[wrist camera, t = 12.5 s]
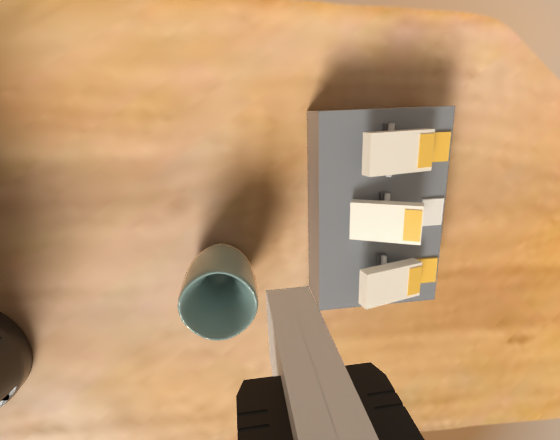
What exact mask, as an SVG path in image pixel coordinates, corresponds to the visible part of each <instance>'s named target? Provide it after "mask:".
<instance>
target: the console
mask: <svg viewBox="0 0 560 440" xmlns="http://www.w3.org/2000/svg"><path fill="white" fill-rule="evenodd" d="M454 111H455V106H417V107H392V108H367V109H341V110H316V111H307V155H308V233H309V287H310V289H311V292H312V294H313V296H314V299H315V301H316V304H317V306H318V308H319V311H320V310H330V309H340V308H351V307H361V305H360V304H359V303H358V302H359V273H360V269H364V268H369V267H373V266H378V265H382V264H387V263H392V262H396V261H401V260H405V259H410V258H415V259H417V260H419V261H421V262H422V273H421V284H420V294H419V296H415V297H411V298H408V299H404V300H400V301H396V302H393V303H402V302H412V301H422V300H433V299H435V290H436V280H437V271H438V262H439V252H440V243H441V233H442V224H443V215H444V205H445V196H446V187H447V177H448V168H449V158H450V149H451V140H452V130H453V121H454ZM422 128H428V129H435V137H434V148H433V158H432V169H431V171H423V172H413V173H404V174H395V175H385V176H376V177H367V176H364V175H362V147H363V132H376V131H391V130H407V129H422ZM352 199H360V200H380V201H400V202H420V203H424V212H423V224H422V235H421V245H410V244H398V243H387V242H376V241H364V240H353V239H349V235H350V202H351V201H352ZM389 304H392V303H389Z"/></svg>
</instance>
